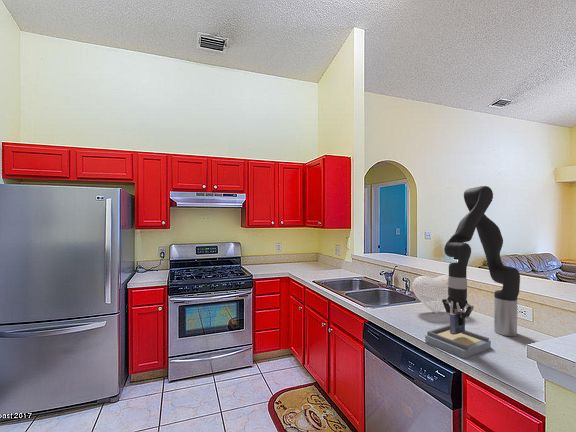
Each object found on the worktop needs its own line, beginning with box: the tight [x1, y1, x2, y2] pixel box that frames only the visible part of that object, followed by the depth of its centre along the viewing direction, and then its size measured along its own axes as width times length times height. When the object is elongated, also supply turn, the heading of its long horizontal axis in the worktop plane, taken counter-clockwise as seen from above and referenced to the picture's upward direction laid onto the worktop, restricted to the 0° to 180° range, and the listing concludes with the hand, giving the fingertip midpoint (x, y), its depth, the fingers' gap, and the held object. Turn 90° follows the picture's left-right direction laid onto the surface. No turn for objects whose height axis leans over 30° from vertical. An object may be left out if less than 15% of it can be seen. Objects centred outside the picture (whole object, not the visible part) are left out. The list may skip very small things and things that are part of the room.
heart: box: [411, 274, 449, 314], centre depth 177 cm, size 28×16×22 cm, turn 98°
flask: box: [449, 308, 466, 335], centre depth 134 cm, size 9×3×11 cm, turn 117°
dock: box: [424, 324, 492, 359], centre depth 134 cm, size 20×18×4 cm
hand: (457, 324), depth 134 cm, fingers closed on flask, 3 cm apart
